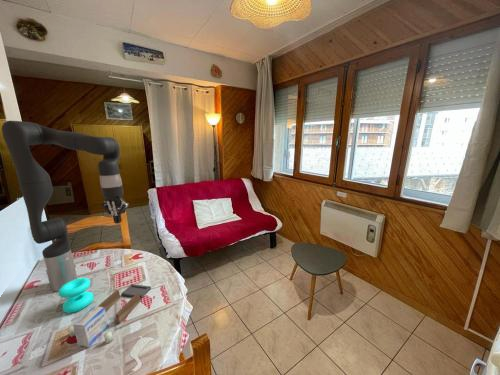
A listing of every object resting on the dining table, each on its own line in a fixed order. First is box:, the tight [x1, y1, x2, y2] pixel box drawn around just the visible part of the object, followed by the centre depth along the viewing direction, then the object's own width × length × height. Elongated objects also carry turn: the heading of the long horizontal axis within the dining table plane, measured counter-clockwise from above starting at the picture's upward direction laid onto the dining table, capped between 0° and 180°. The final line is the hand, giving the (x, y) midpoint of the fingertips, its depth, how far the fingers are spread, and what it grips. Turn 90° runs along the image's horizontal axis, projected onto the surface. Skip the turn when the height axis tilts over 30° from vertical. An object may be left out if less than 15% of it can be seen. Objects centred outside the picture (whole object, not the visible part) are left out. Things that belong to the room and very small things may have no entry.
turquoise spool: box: [57, 277, 95, 314], centre depth 83 cm, size 10×10×10 cm
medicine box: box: [72, 305, 109, 348], centre depth 69 cm, size 8×4×9 cm, turn 172°
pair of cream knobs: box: [67, 324, 114, 345], centre depth 69 cm, size 17×2×3 cm, turn 79°
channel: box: [97, 289, 142, 324], centre depth 81 cm, size 11×11×4 cm
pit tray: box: [121, 283, 152, 299], centre depth 91 cm, size 10×6×1 cm, turn 79°
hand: (118, 222), depth 89 cm, fingers closed
